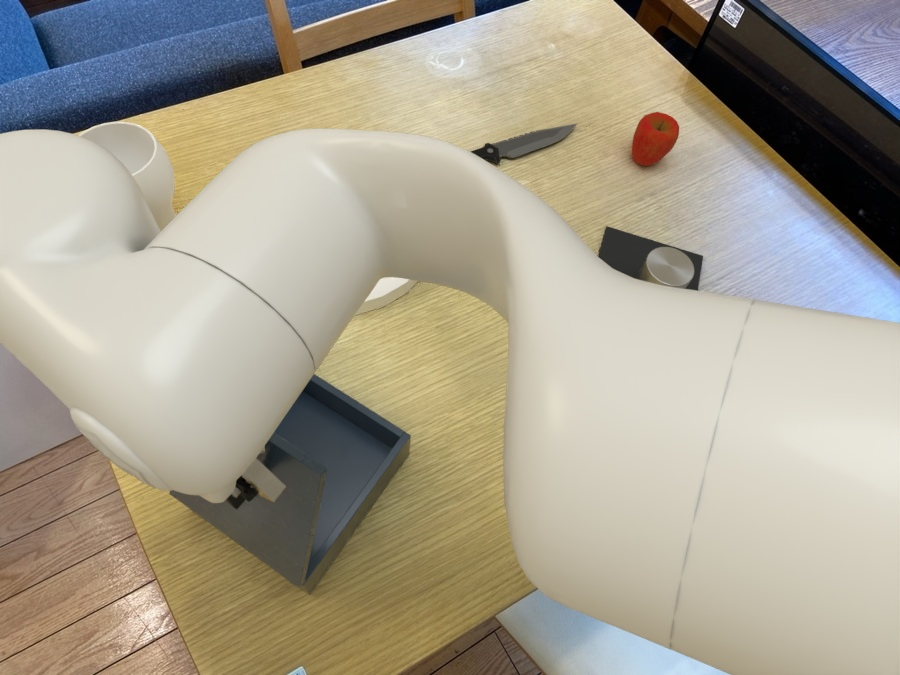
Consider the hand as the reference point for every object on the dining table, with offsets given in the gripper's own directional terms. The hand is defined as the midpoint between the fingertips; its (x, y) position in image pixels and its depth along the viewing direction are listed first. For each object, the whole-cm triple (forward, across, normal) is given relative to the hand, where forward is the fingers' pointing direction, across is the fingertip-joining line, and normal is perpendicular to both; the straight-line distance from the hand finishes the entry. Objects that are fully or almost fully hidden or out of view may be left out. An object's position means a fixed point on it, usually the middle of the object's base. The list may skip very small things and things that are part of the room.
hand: (217, 468), depth 47 cm
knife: (+20, -6, +64) cm, 67 cm away
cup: (+20, -36, +22) cm, 47 cm away
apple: (+20, +12, +75) cm, 78 cm away
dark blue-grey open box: (+20, 0, +6) cm, 21 cm away
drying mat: (+20, +21, +53) cm, 61 cm away
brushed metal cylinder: (+19, +23, +51) cm, 59 cm away
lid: (+5, 0, +1) cm, 5 cm away
